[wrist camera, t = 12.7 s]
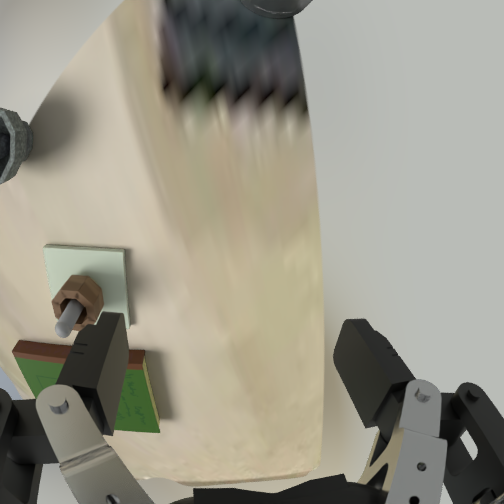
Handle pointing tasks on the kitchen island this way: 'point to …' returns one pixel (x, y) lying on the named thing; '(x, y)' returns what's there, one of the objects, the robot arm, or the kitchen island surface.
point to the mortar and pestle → (13, 143)
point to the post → (98, 269)
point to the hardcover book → (133, 391)
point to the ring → (80, 299)
